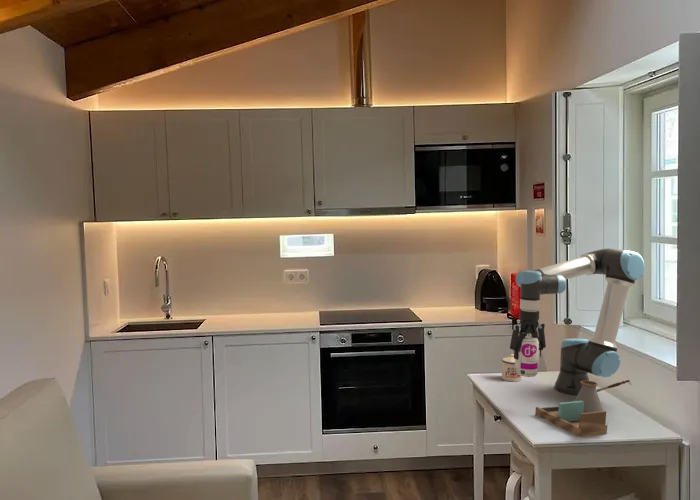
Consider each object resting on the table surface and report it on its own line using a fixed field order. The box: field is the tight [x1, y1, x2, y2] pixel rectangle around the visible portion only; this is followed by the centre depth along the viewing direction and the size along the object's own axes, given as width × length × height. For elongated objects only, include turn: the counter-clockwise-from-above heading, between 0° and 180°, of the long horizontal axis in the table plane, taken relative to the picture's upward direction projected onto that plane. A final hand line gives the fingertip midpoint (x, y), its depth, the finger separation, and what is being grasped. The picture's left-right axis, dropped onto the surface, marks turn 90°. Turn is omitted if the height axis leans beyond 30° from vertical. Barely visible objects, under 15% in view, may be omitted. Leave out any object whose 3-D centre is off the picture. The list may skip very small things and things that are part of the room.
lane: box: [534, 405, 608, 437], centre depth 242 cm, size 24×13×8 cm, turn 21°
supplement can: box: [516, 335, 539, 378], centre depth 257 cm, size 8×8×15 cm
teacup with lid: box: [501, 353, 522, 382], centre depth 301 cm, size 12×9×12 cm
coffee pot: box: [574, 379, 632, 413], centre depth 252 cm, size 21×12×15 cm, turn 83°
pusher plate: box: [558, 400, 584, 422], centre depth 242 cm, size 2×10×7 cm, turn 111°
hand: (527, 366), depth 257 cm, fingers closed on supplement can, 8 cm apart
